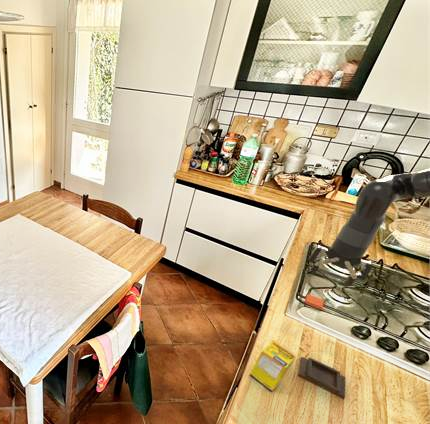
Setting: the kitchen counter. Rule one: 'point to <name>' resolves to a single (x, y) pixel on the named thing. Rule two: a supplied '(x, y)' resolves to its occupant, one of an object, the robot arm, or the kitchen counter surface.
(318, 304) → the orange-red small block
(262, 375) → the supplement box
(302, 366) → the back plate
